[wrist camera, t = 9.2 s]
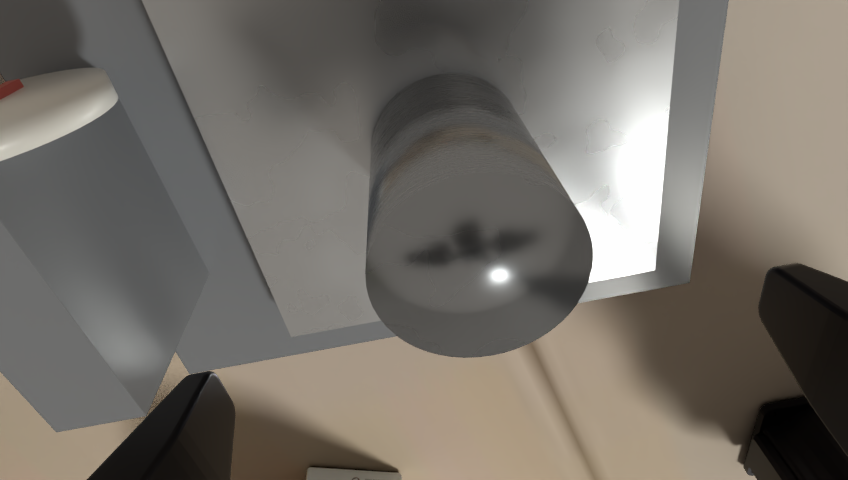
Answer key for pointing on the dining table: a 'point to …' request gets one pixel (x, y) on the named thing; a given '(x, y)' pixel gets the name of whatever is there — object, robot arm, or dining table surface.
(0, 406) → the dining table surface
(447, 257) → the cylinder
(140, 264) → the scale
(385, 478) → the small box
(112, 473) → the robot arm
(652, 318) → the dining table surface
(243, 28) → the pan
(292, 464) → the dining table surface
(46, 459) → the dining table surface
